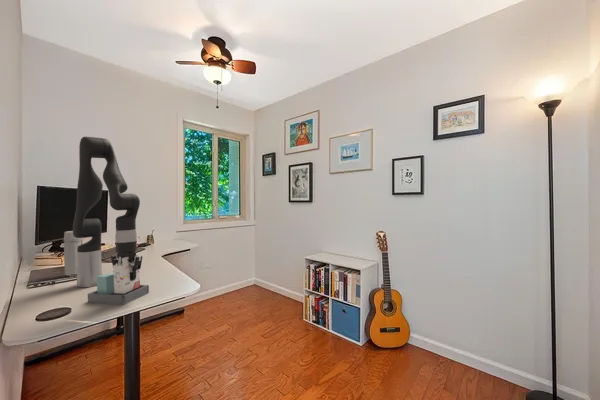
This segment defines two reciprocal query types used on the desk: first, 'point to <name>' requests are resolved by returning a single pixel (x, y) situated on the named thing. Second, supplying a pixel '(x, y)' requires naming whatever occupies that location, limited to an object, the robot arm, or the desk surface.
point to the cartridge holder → (118, 296)
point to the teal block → (105, 283)
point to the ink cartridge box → (124, 277)
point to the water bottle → (71, 252)
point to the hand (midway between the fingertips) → (127, 279)
